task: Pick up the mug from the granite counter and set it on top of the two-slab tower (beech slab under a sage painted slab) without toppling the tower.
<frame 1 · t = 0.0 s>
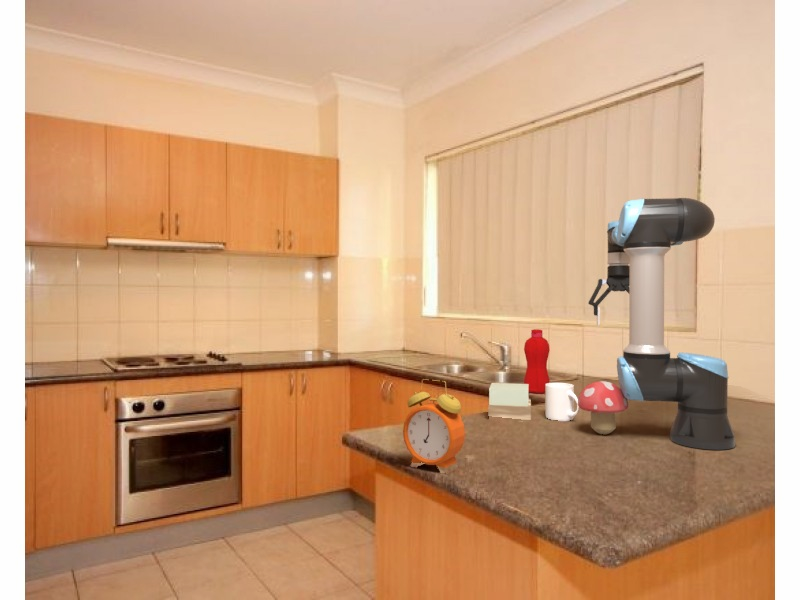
hand: (618, 325, 199), 28 cm above the countertop, fingers open, 13 cm apart
alarm clock: (433, 468, 128), on the countertop
tower top: (509, 401, 181), point 5 cm above the countertop, touching tower base
decorative mushroom: (603, 435, 158), on the countertop, touching arm
water bottle: (537, 392, 225), on the countertop
tower base: (510, 417, 181), on the countertop, touching tower top
mug: (563, 420, 175), on the countertop
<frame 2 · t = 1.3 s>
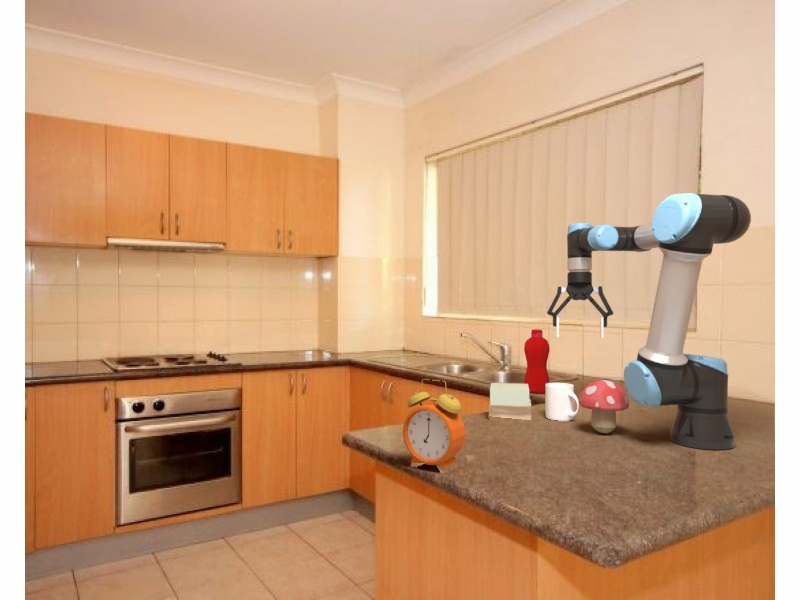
hand: (579, 337, 181), 25 cm above the countertop, fingers open, 13 cm apart
decorative mushroom: (603, 434, 158), on the countertop
everything else where it was.
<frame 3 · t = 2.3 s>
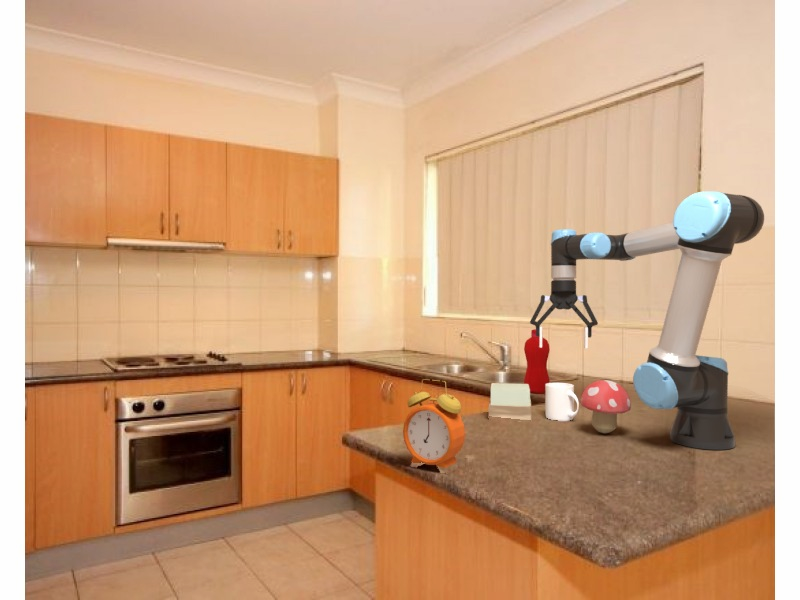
hand: (563, 347, 175), 23 cm above the countertop, fingers open, 13 cm apart
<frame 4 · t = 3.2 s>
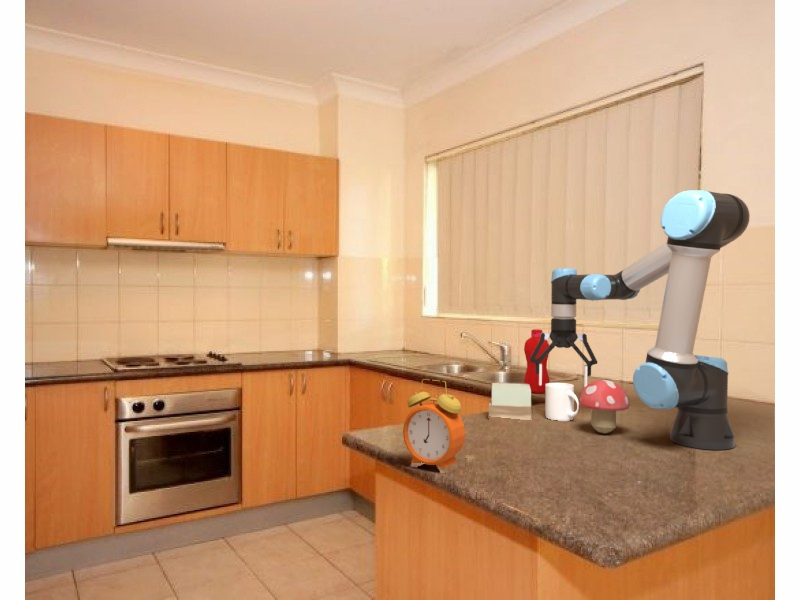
hand: (562, 385, 176), 11 cm above the countertop, fingers open, 13 cm apart
tower top: (510, 401, 181), point 5 cm above the countertop
tower base: (510, 417, 180), on the countertop
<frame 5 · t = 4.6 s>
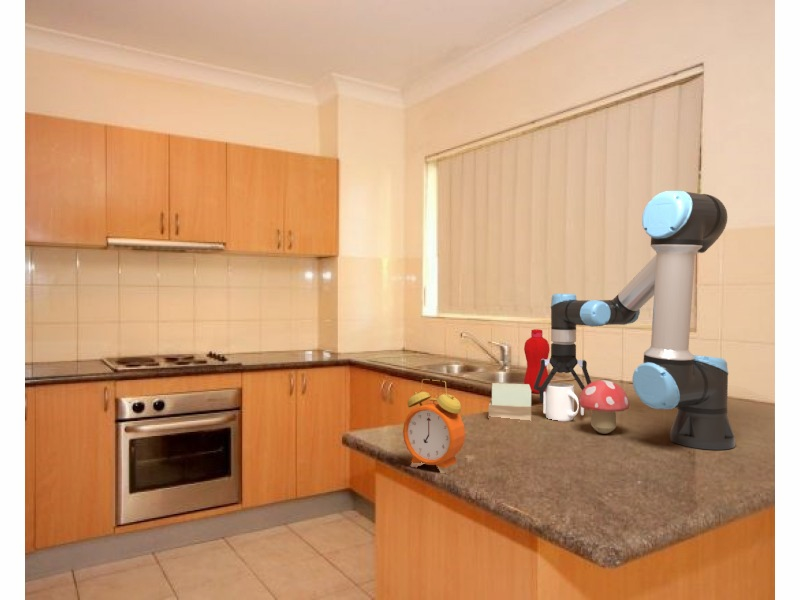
hand: (563, 413, 176), 2 cm above the countertop, fingers open, 11 cm apart
tower top: (510, 402, 181), point 5 cm above the countertop, touching tower base
tower base: (510, 417, 180), on the countertop, touching tower top
mug: (563, 420, 175), on the countertop, touching gripper
everything else where it was.
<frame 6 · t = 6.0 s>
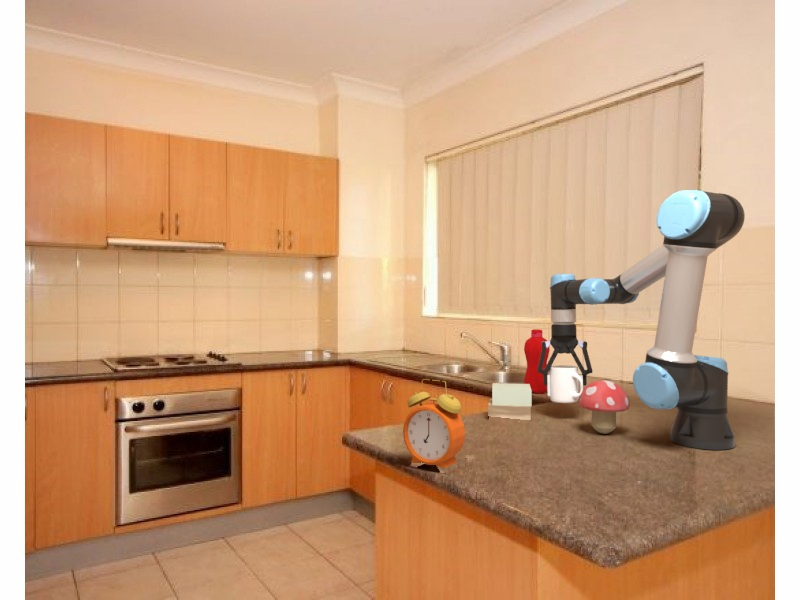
hand: (565, 395, 175), 8 cm above the countertop, fingers closed on mug, 9 cm apart
tower top: (511, 402, 181), point 5 cm above the countertop
tower base: (509, 417, 180), on the countertop
mug: (568, 402, 174), point 6 cm above the countertop, touching gripper
everything else where it was.
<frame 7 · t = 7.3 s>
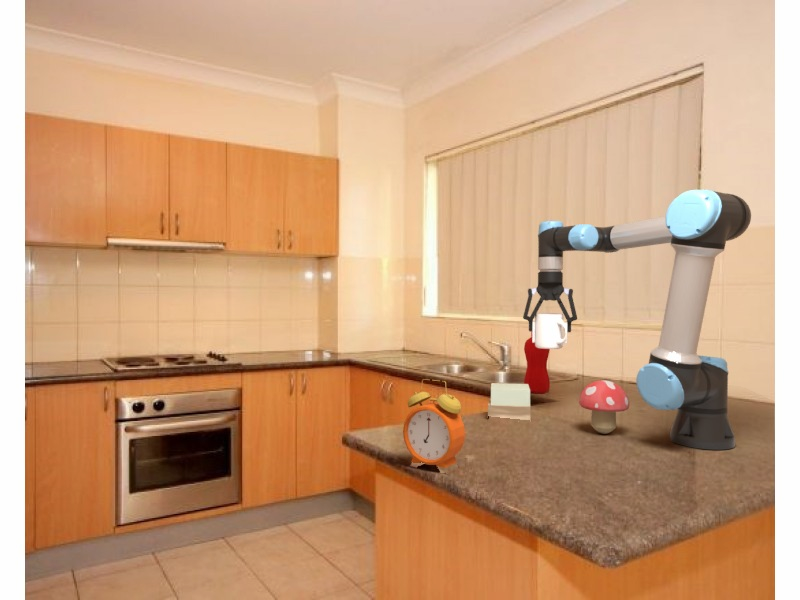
hand: (549, 342, 177), 24 cm above the countertop, fingers closed on mug, 9 cm apart
tower top: (510, 402, 181), point 5 cm above the countertop, touching tower base
tower base: (509, 417, 180), on the countertop, touching tower top
mug: (552, 348, 177), point 22 cm above the countertop, touching gripper
everything else where it was.
when the fingers open (12 cm above the countertop, at t = 11.0 s): mug drops 1 cm, point 9 cm above the countertop.
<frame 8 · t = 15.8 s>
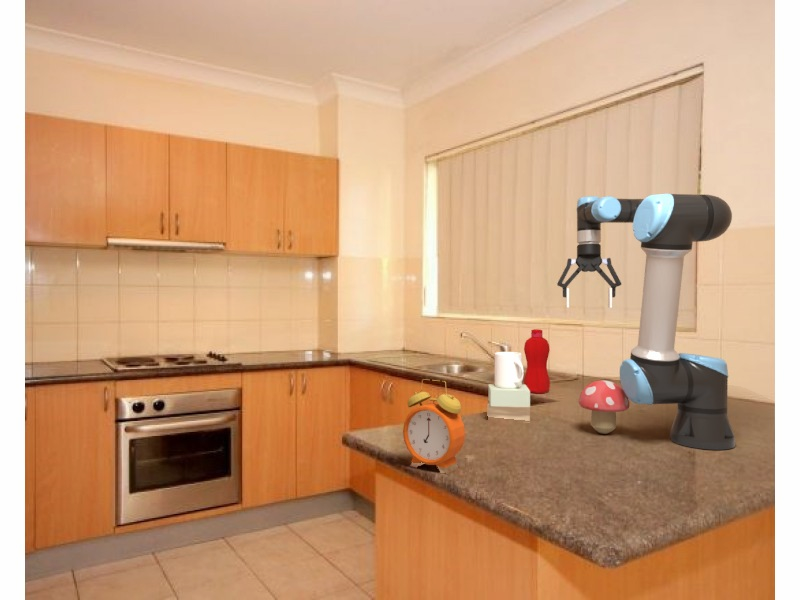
hand: (588, 307, 188), 35 cm above the countertop, fingers open, 13 cm apart
tower top: (508, 402, 179), point 5 cm above the countertop
tower base: (508, 418, 180), on the countertop
mug: (511, 387, 179), point 9 cm above the countertop
everything else where it was.
at the end: mug inside the target area on the tower base (0.9 cm from its centre), point 9.9 cm above the tower base's base; tower top tilted 0°; tower top 0.2 cm from the tower base (horizontally) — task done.
